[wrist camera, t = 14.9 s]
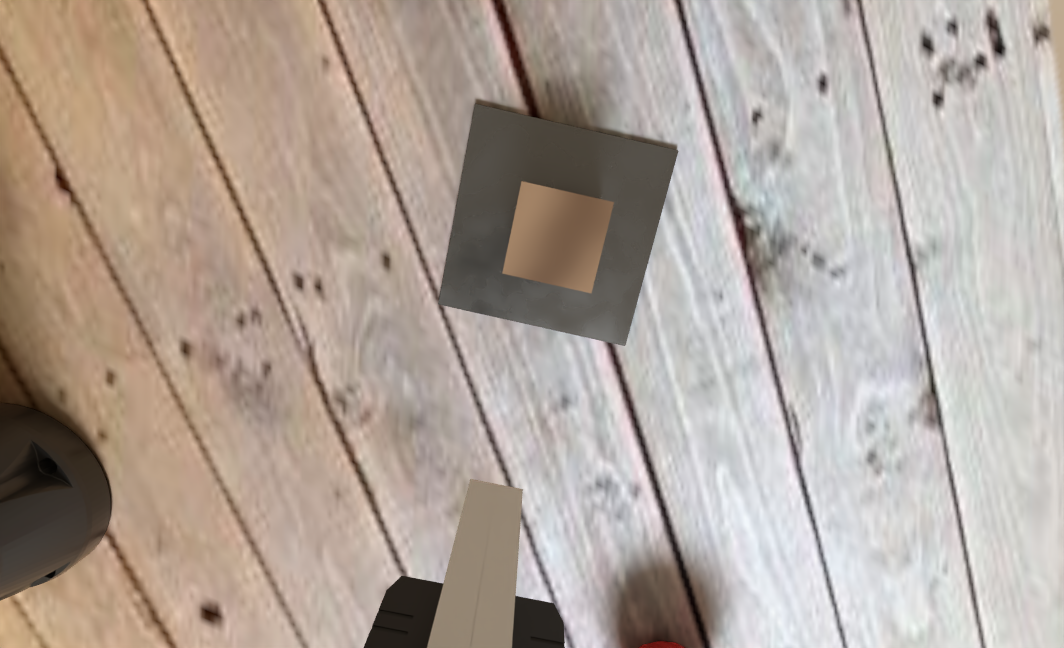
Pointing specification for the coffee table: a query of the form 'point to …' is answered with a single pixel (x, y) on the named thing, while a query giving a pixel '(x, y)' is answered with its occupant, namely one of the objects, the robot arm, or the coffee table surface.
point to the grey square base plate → (565, 164)
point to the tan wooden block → (557, 237)
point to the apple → (661, 645)
